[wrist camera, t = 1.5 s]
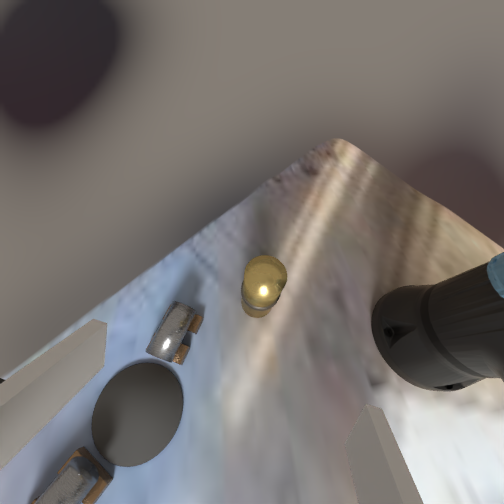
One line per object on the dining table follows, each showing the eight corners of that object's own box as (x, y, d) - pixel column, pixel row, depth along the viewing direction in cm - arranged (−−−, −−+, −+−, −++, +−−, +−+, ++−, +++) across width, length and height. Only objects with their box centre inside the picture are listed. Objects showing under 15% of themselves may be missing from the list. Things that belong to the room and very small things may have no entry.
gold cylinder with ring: (280, 302, 38) (298, 275, 27) (256, 326, 36) (266, 307, 25) (256, 279, 40) (265, 245, 29) (233, 301, 38) (233, 273, 27)
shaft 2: (181, 365, 33) (173, 364, 28) (149, 351, 34) (135, 348, 29) (203, 318, 36) (199, 310, 32) (173, 306, 37) (164, 296, 32)
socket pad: (200, 409, 31) (199, 410, 30) (123, 491, 27) (122, 493, 26) (151, 345, 34) (150, 345, 34) (76, 410, 30) (75, 410, 30)
